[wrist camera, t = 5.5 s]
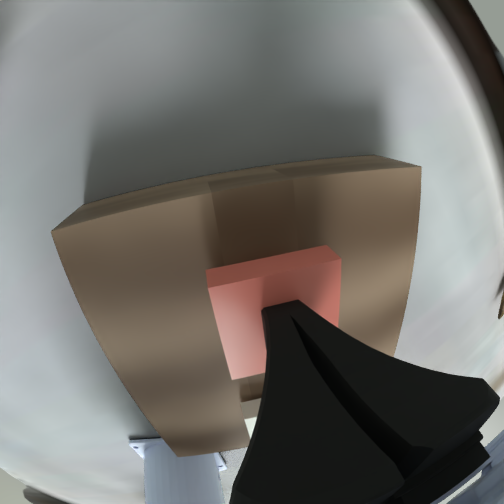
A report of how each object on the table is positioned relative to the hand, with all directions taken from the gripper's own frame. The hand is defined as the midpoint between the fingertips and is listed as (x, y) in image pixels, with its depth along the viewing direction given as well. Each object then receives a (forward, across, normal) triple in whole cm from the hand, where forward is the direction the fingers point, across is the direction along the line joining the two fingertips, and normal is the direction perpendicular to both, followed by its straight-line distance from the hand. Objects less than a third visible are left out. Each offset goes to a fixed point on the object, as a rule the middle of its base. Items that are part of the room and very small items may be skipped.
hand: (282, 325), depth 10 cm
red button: (+5, 0, 0) cm, 5 cm away
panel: (+6, 0, +4) cm, 8 cm away
